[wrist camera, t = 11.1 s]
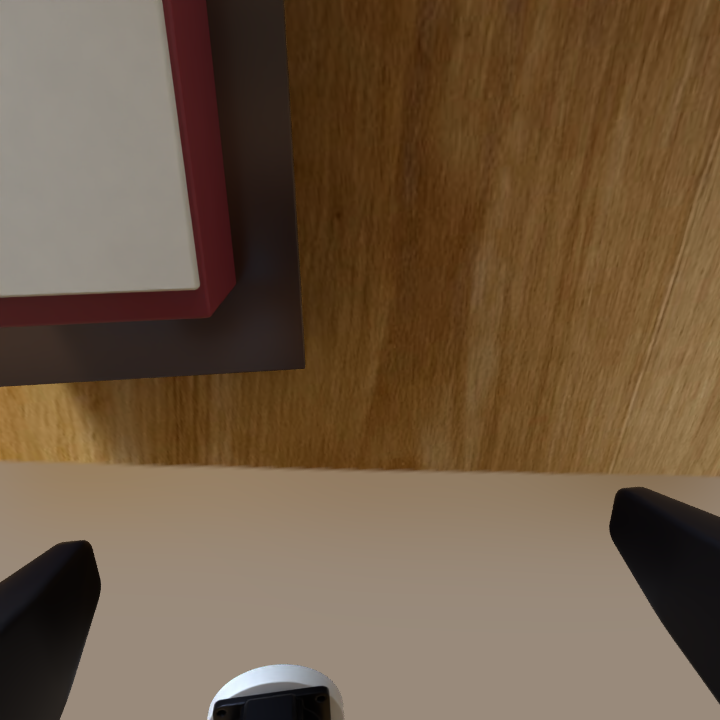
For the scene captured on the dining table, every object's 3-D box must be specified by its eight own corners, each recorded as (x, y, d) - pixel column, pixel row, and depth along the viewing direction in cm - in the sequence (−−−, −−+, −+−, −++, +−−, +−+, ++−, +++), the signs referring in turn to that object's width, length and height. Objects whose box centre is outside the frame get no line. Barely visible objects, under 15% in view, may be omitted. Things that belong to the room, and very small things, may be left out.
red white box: (236, 285, 14) (208, 321, 10) (34, 293, 14) (-96, 336, 9) (181, -234, 11) (93, -560, 6) (-106, -258, 10) (-447, -648, 5)
